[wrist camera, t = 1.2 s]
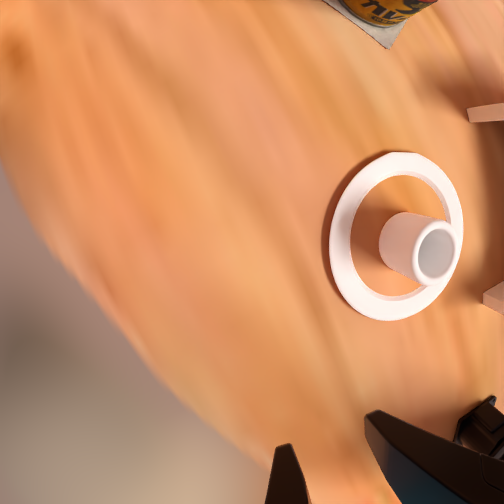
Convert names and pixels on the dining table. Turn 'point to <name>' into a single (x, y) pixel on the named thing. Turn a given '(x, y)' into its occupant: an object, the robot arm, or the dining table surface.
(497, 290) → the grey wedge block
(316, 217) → the dining table surface
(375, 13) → the condiment
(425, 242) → the white ring with cylinder
